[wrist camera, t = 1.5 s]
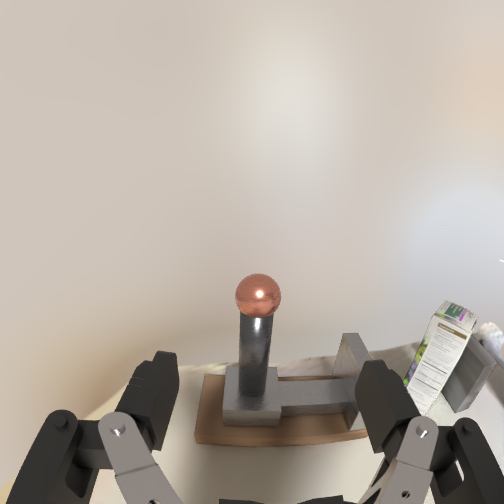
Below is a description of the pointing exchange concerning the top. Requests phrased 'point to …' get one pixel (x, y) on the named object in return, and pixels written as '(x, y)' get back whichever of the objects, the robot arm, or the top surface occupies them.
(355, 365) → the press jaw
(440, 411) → the top surface
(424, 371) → the syrup box
